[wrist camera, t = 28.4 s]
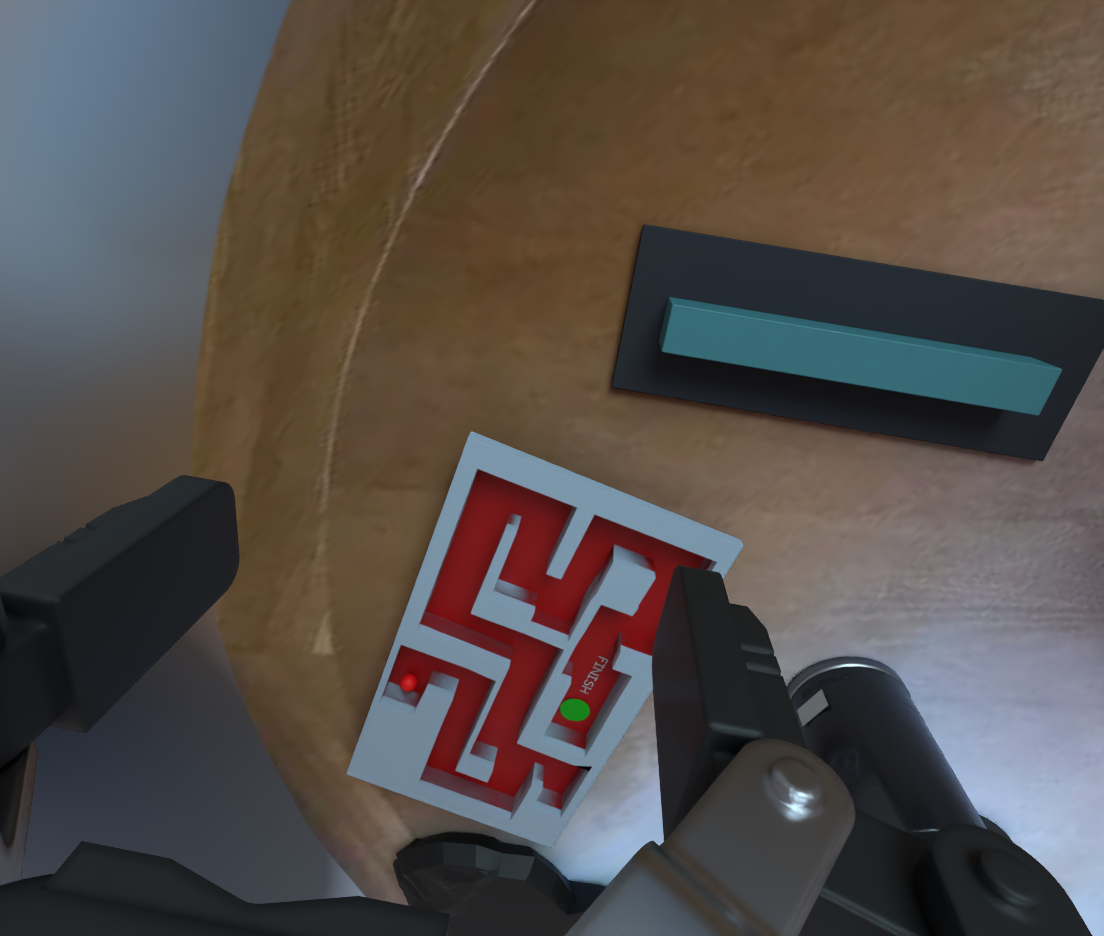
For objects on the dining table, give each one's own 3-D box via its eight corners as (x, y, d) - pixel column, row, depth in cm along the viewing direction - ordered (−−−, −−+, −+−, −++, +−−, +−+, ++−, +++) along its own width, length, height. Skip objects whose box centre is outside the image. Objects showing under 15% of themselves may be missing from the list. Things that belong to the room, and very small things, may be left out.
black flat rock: (370, 870, 64) (355, 911, 60) (451, 780, 57) (439, 820, 54) (587, 978, 68) (585, 1022, 65) (687, 906, 62) (691, 951, 58)
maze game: (479, 419, 42) (468, 435, 39) (735, 523, 43) (743, 546, 40) (360, 744, 57) (346, 774, 54) (555, 815, 58) (551, 847, 55)
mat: (1119, 302, 35) (1127, 304, 35) (1037, 458, 39) (1043, 461, 39) (643, 224, 36) (643, 224, 35) (611, 384, 40) (611, 387, 40)
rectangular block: (658, 341, 38) (661, 352, 36) (668, 296, 37) (672, 304, 34) (1010, 401, 38) (1039, 415, 35) (1032, 357, 36) (1063, 369, 34)
